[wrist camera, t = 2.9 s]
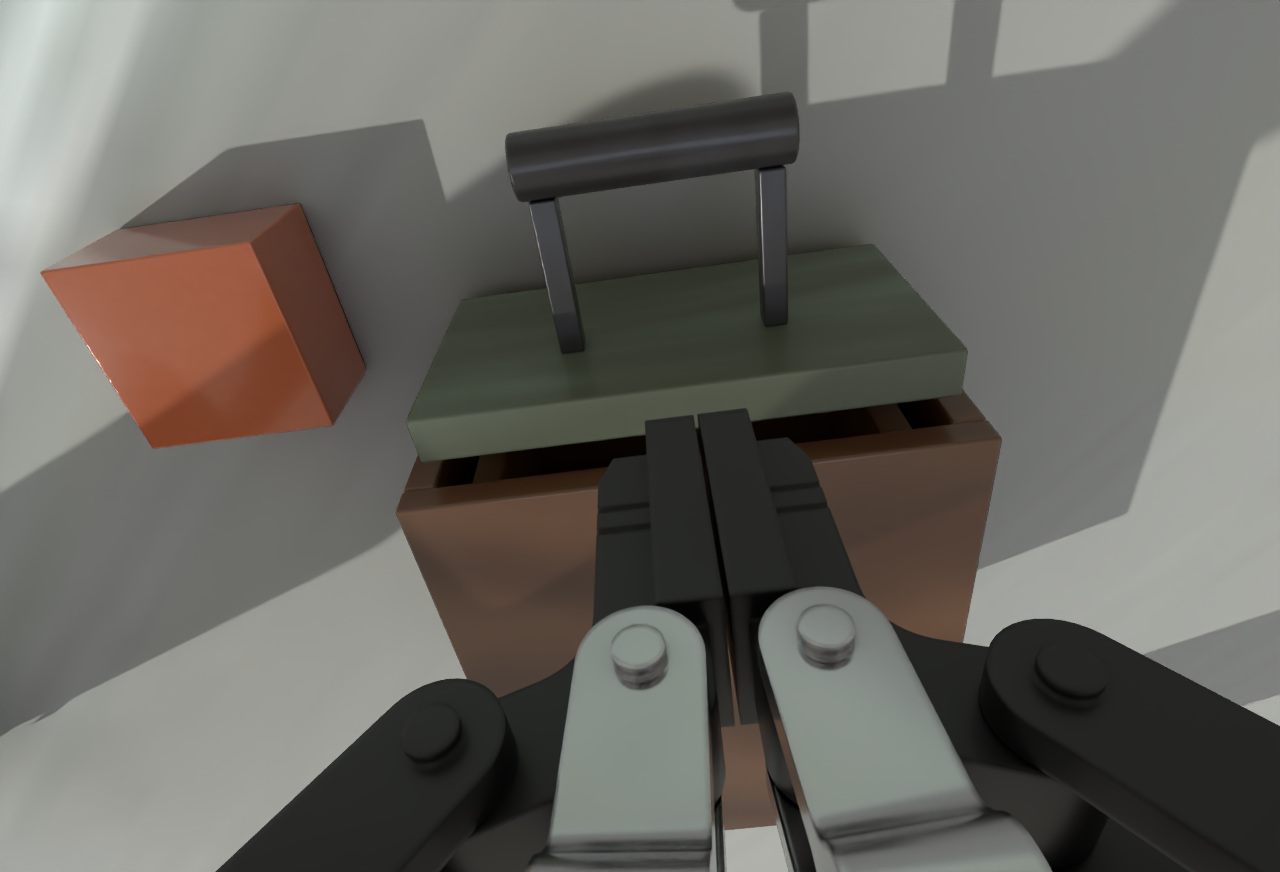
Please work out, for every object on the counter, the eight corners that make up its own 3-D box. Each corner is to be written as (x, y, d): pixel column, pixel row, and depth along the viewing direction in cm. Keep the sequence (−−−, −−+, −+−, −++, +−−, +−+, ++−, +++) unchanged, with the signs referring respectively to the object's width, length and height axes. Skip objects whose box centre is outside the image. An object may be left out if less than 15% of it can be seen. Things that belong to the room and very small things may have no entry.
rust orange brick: (206, 391, 24) (152, 449, 21) (116, 229, 21) (38, 272, 18) (367, 370, 24) (333, 426, 21) (300, 202, 20) (250, 241, 18)
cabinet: (461, 341, 23) (393, 512, 16) (880, 285, 22) (1004, 438, 15) (556, 649, 32) (539, 849, 25) (859, 616, 31) (931, 811, 24)
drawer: (406, 118, 18) (314, 188, 13) (884, 46, 18) (1008, 87, 12) (555, 620, 29) (540, 777, 24) (853, 587, 29) (911, 740, 23)
